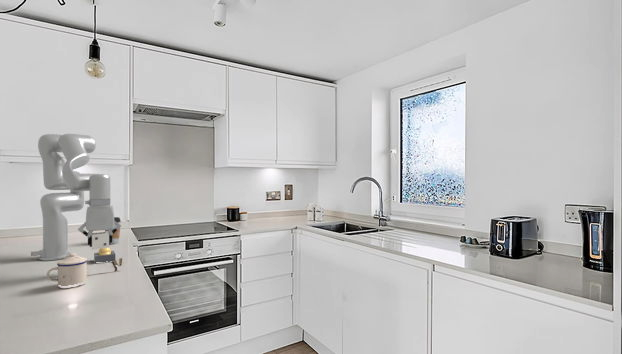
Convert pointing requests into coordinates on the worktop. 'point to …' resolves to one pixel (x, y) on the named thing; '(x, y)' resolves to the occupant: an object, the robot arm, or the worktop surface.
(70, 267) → the teacup with lid
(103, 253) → the dome button
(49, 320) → the worktop surface
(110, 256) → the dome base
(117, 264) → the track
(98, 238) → the die
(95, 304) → the worktop surface
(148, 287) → the worktop surface
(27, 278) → the worktop surface
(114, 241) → the coffee cup
